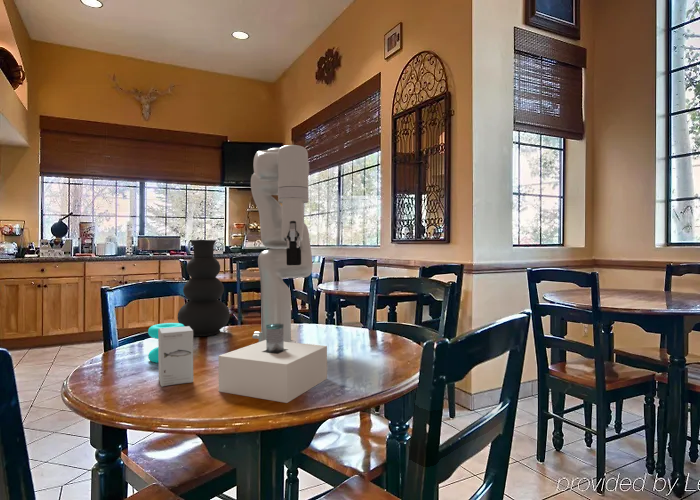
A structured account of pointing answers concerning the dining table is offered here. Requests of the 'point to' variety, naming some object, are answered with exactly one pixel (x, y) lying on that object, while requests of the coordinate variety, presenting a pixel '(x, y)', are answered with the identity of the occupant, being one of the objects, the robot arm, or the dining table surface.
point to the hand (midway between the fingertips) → (294, 265)
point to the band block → (272, 371)
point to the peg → (274, 338)
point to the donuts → (153, 333)
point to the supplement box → (175, 355)
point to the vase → (203, 292)
